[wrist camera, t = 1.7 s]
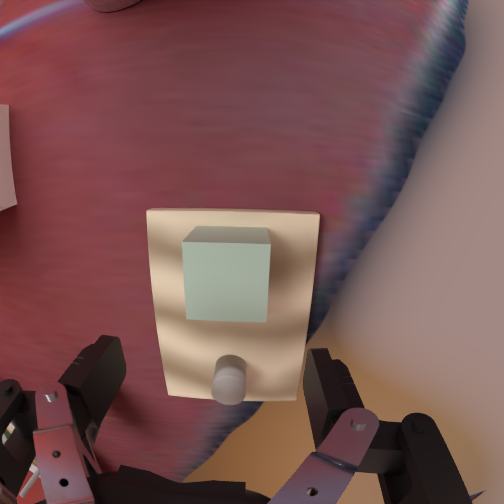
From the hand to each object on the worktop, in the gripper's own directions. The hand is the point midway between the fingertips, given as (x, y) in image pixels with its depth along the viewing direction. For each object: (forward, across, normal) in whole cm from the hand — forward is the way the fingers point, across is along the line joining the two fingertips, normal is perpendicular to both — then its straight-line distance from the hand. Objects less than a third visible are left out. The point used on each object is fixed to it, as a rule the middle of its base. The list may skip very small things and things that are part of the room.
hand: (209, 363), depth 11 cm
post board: (+15, 0, +6) cm, 16 cm away
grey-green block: (+13, 0, 0) cm, 13 cm away
